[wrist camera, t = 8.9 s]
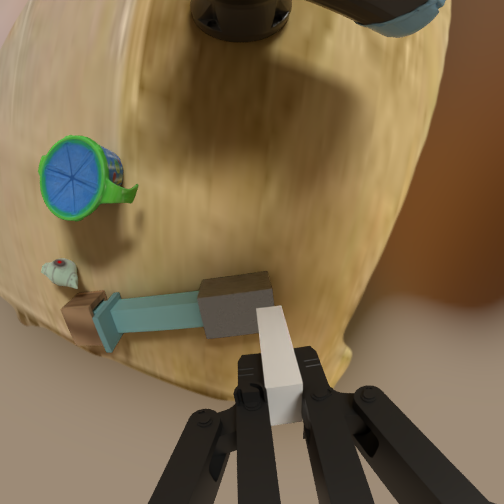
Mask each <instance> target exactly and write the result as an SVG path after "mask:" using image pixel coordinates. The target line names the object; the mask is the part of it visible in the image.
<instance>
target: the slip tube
mask: <svg viewBox="0 0 504 504" xmlns="http://www.w3.org/2000/svg"><path fill="white" fill-rule="evenodd" d="M198 293H199V291H192V292H184V293H175V294H166V295H157V296H148V297H139V298H129V299H121V297H120V294H119V292H116V293H113V294H112V296H111V297H110V298H109V299H108V300H107V301H101V302H100V303H99V304H98V305H97V306H96V307H95V308H94V310H93V314H94V317H93V318H92V319H93V322H94V324H95V327H96V329H97V332H98V334H99V336H100V339H101V341H102V343H103V346H104V348H105V350H106V352H113V350H114V348H115V346H116V345H117V343H118V341H119V340H120V338H121V336H122V335H123V333H126V332H144V331H159V330H172V329H183V328H194V327H204V326H203V322H202V318H201V314H200V310H199V305H198V301H197V296H198Z"/></svg>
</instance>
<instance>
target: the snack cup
mask: <svg viewBox="0 0 504 504" xmlns="http://www.w3.org/2000/svg"><path fill="white" fill-rule="evenodd" d="M38 173H39V175H40V189H41V194H42V197H43V200H44V202H45V204H46V206H47V207H48V208H49V210H50V211H51V212H52V213H53V214H54V215H55V216H57V217H58V218H61V219H63V220H68V221H80V220H82V219H83V218H84V217H86V216H88V215H90V214H91V213H92V212H93V211H95V210H96V209H97V208H98V206H99V205H100V204H102V203H132V202H133V200H134V198H135V195H136V192H137V189H138V184H136V185H135V186H134V187H132V188H131V189H125V188H123V187H120V185H121V184H122V181H123V167H122V164H121V161H120V158H119V157H118V156H117V155H116V154H114V153H113V152H111V151H110V150H108V149H106V148H104V147H102V146H100V145H98V144H97V143H96V142H95V141H93V140H92V139H90V138H88V137H84V136H72V135H69V136H66V137H65V138H63V139H61V140H59V141H58V142H57V143H56V144H54V145H53V147H52V148H51V149H50V150H49V152H48V153H47V155H44V156H42V158H41V161H40V164H39V169H38Z"/></svg>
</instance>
